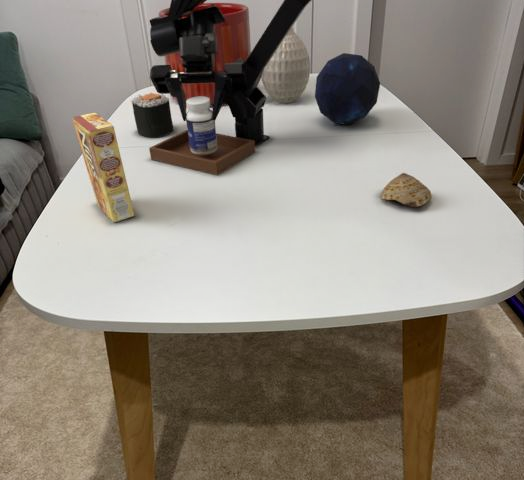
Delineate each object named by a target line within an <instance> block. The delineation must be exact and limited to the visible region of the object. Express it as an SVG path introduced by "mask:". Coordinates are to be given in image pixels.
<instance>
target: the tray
mask: <svg viewBox="0 0 524 480" xmlns="http://www.w3.org/2000/svg"><path fill="white" fill-rule="evenodd" d="M216 137H217V150H216V151H215V152H214V153H211V154H208V155H197V154H194V153H192V152H191V150H190V143H189V136H188V129H186V130H184V131H183V130H182V131H181V132H180V133H177V134H175V135H173V136H171V137H169V138H166V139H164V140H162V141H161V142H159V143H156V144H155V145H152V146H150V147H148V150H149V155H150V160H151V161H155V162H158V163H159V162H160V163H163V164H168V165H173V166H176V167H177V166H178V167H180V168H185V169H188V170H193V171H198V172H202V173H207V174H210V175H214V176H219V175H221V174H222V173H224V172H225V171H227V170H229V169H230V168H232V167H234V166H235V165H237V164H239V163H240V162H242V161H244V160H245V159H247V158H249V157H251V156H252V155H254V154H255V153H256V147H255V141H254V140H248V139H243V138H238V137H236V136H232V135H226V134H223V133H217V132H216Z"/></svg>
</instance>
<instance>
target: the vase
mask: <svg viewBox="0 0 524 480" xmlns="http://www.w3.org/2000/svg"><path fill="white" fill-rule="evenodd" d="M303 41H304V40H303V39H301V38H300V36H299V35H298V34H297V33H296V32H295V30H294V27H292V28H291V29H290V31H289V32H288V34H287V35H286V37H285V38H284V40H283V41H282V43H281V44H280V46H279V47H278V49H277V50H276V52H275V53H274V55H273V56H272V58H271V59H270V61H269V62H268V63H267V65H266V66H265V68H264V71H263V74H262V76H261V79H260V80H261V82H262V85H263V88H264V90H265V92H266V93H267V95H268V96H269V97H270V98H271V100H272V101H273V102H274V103H277V104H292V103H295V102H297V101H298V100H299V98H300V97H301V96H302V95H303V94H304V91H305V90H306V88H307V85H308V83H309V79H310V75H311V74H310V73H311V61H310V56H309V51H308V49H307V47H306V45H305V44H304V42H303Z"/></svg>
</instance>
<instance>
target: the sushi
mask: <svg viewBox="0 0 524 480" xmlns="http://www.w3.org/2000/svg"><path fill="white" fill-rule="evenodd" d="M130 102H131V105H132V110H133V116H134V121H135V126H136V130H137V134H138V135H139V136H142V137H145V138H148V139H156V138H157V139H158V138H162V137H165V136H167V135H170V134H172V133H173V132H174V124H173V118H172V111H171V105H170V104H171V103H170V99H169V97H167V96H166V94H160V93H153V92H149V93H147V94H146V93H145V94H144V95H141V94H138V95H137V96H135V97H133V98H131V100H130Z"/></svg>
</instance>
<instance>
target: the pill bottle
mask: <svg viewBox="0 0 524 480" xmlns="http://www.w3.org/2000/svg"><path fill="white" fill-rule="evenodd" d="M210 105H211V104H210V99H209V98H208V97H205V96H197V97H192V98H189V99H188V100H187V101H186V109H187V110H188V111H186V121H185V122H186V127H187V129H186V130H188V136H189V143H190V150H191V152H192V153H194V154H197V155H208V154H211V153H214V152H215V151H216V150H217V137H216V133H217V129H216V120H213V117H212V110H213V109H211V108H210V107H211V106H210Z"/></svg>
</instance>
